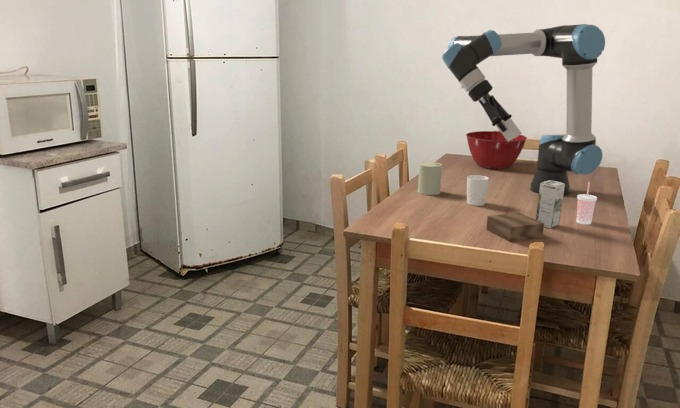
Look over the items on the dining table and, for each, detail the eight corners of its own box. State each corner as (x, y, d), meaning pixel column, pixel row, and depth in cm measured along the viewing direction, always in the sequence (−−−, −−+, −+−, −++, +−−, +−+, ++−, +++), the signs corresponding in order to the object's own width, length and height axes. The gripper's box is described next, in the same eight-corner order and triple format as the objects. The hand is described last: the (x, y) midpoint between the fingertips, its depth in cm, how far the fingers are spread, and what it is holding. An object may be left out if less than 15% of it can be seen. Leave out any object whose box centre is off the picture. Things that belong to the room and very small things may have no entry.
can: (440, 196, 217) (442, 165, 214) (416, 194, 219) (418, 164, 216) (440, 190, 226) (442, 161, 223) (418, 188, 228) (419, 160, 224)
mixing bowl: (531, 173, 259) (535, 140, 255) (470, 172, 259) (473, 139, 255) (514, 161, 286) (517, 131, 282) (458, 160, 287) (461, 130, 282)
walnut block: (517, 227, 181) (518, 212, 180) (542, 238, 170) (544, 223, 169) (486, 230, 177) (487, 215, 176) (509, 243, 166) (511, 227, 165)
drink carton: (543, 221, 186) (548, 179, 182) (559, 225, 182) (565, 182, 178) (534, 224, 183) (539, 182, 179) (551, 229, 178) (557, 185, 175)
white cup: (482, 207, 202) (485, 180, 199) (462, 204, 206) (464, 178, 203) (489, 202, 208) (491, 176, 206) (469, 199, 212) (471, 174, 210)
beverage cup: (581, 218, 190) (586, 178, 186) (597, 223, 185) (603, 182, 181) (569, 221, 187) (575, 180, 183) (586, 226, 182) (592, 184, 178)
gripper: (475, 92, 196) (511, 141, 194) (458, 93, 174) (498, 148, 172) (493, 79, 193) (530, 128, 190) (477, 78, 171) (519, 133, 168)
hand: (515, 137), depth 181 cm, fingers open, 13 cm apart
